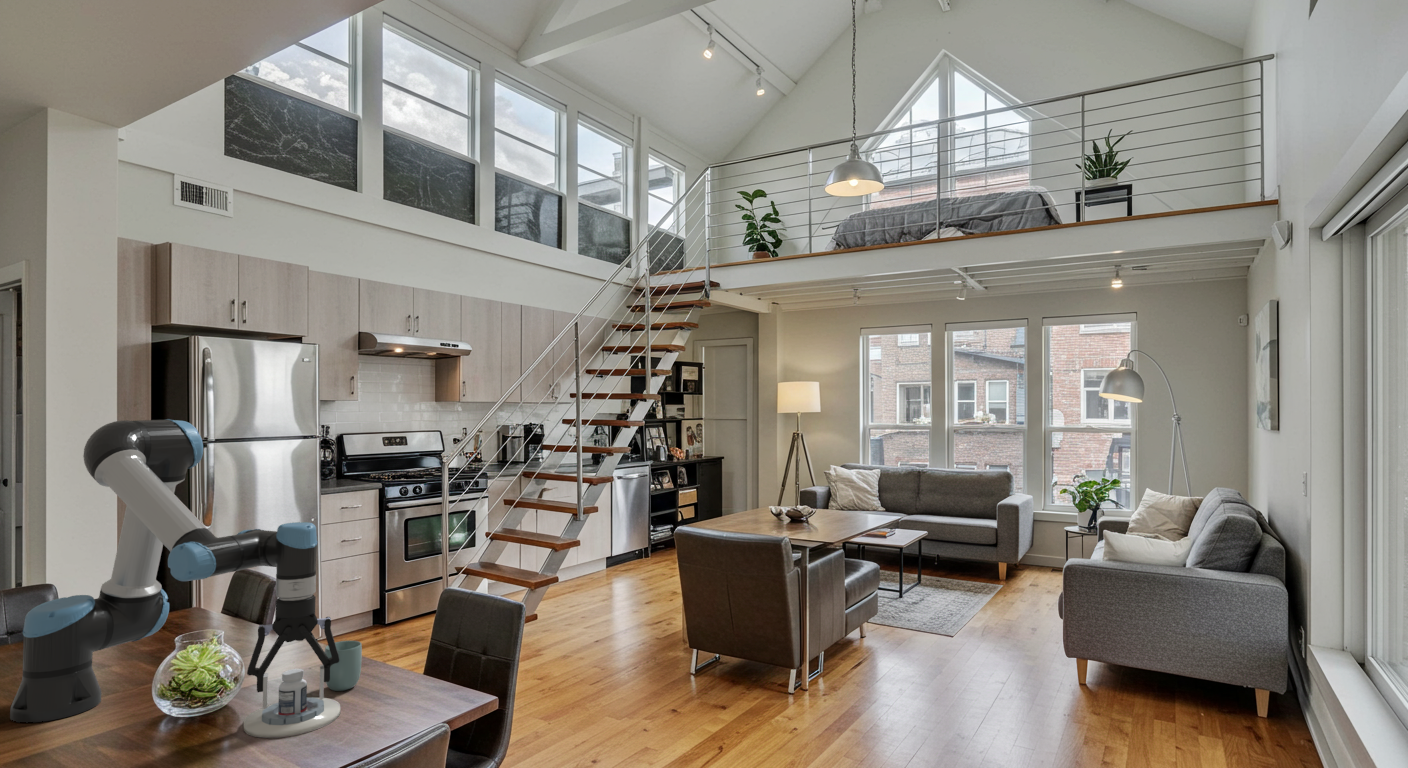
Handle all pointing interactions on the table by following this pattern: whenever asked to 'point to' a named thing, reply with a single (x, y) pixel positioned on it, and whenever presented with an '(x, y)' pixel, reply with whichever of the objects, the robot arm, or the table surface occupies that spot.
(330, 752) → the table surface
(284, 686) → the pill bottle
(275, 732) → the tray
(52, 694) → the robot arm
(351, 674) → the cup
